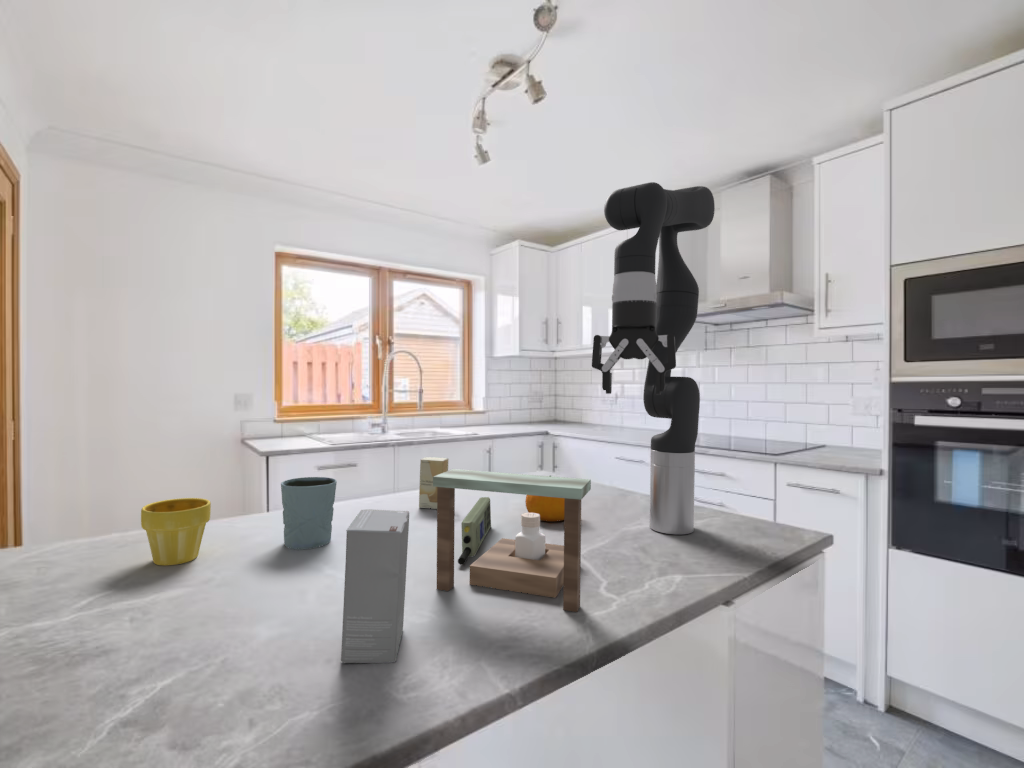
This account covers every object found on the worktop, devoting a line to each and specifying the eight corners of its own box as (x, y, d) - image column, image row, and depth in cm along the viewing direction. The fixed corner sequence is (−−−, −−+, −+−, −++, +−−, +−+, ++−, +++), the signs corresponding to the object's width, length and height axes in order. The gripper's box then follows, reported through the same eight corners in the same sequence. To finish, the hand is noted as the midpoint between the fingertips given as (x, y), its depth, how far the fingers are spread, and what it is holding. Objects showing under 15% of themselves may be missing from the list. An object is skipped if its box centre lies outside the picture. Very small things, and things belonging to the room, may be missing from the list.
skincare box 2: (418, 508, 128) (418, 459, 128) (424, 504, 132) (424, 456, 132) (443, 509, 127) (443, 460, 127) (448, 505, 131) (448, 457, 131)
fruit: (578, 525, 115) (579, 480, 114) (525, 525, 115) (526, 480, 115) (572, 511, 126) (573, 471, 126) (524, 511, 126) (525, 470, 126)
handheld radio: (493, 527, 113) (471, 569, 89) (478, 527, 114) (452, 568, 89) (492, 496, 113) (470, 530, 89) (477, 496, 114) (451, 530, 89)
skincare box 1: (354, 630, 67) (355, 508, 66) (410, 628, 67) (411, 507, 67) (337, 667, 58) (338, 527, 58) (402, 664, 59) (403, 526, 59)
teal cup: (268, 546, 99) (269, 483, 99) (308, 531, 108) (308, 474, 108) (310, 553, 95) (310, 488, 95) (347, 537, 104) (347, 478, 104)
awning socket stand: (479, 551, 97) (480, 458, 97) (602, 567, 89) (603, 466, 89) (432, 590, 79) (433, 476, 79) (579, 614, 72) (581, 488, 71)
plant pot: (218, 559, 92) (219, 504, 91) (149, 575, 84) (149, 515, 84) (200, 545, 99) (200, 494, 99) (134, 559, 91) (134, 504, 91)
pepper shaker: (527, 564, 91) (528, 510, 90) (546, 570, 88) (547, 514, 88) (513, 571, 87) (514, 515, 87) (532, 577, 85) (533, 519, 85)
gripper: (677, 302, 91) (676, 394, 92) (597, 305, 96) (596, 392, 96) (676, 296, 84) (674, 395, 85) (589, 300, 89) (588, 393, 89)
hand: (632, 393), depth 91 cm, fingers open, 8 cm apart
